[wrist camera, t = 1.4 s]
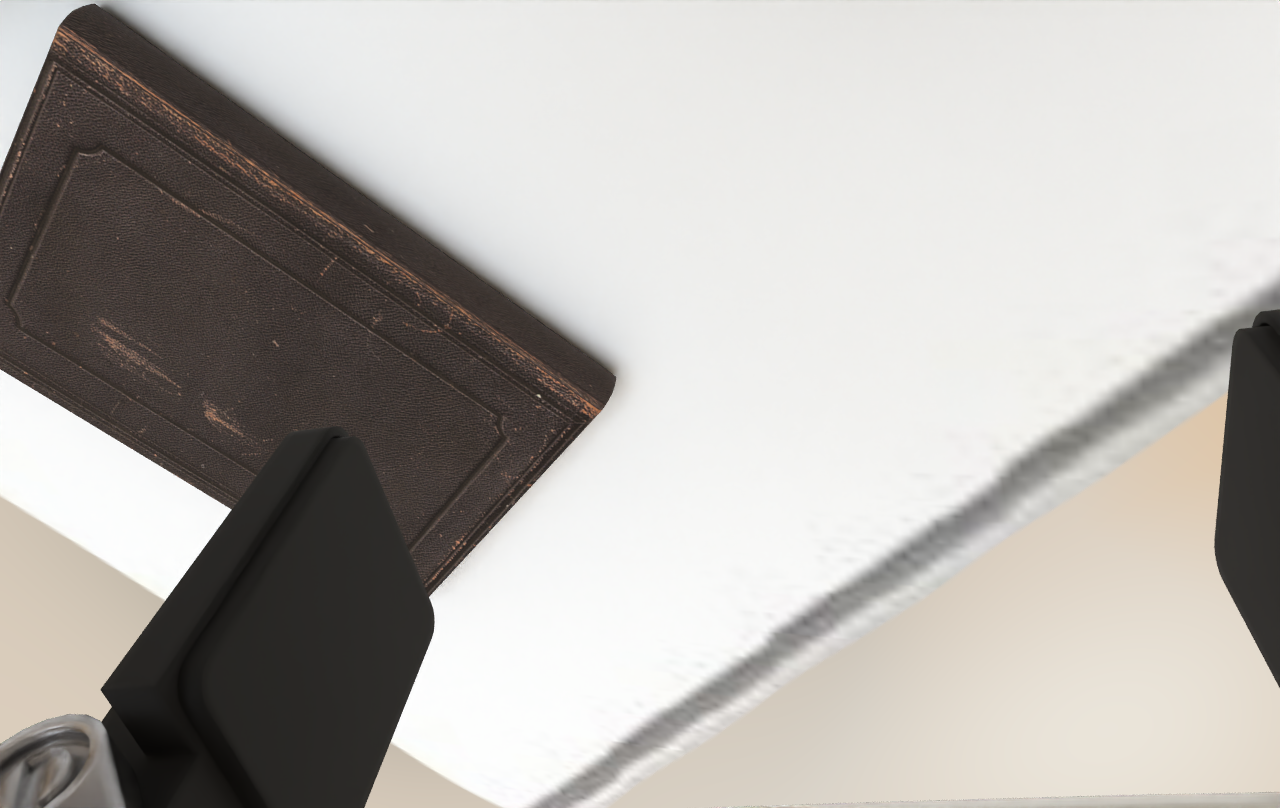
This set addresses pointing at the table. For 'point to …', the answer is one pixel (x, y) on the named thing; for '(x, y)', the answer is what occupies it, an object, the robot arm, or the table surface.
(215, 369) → the hardcover book
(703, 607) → the table surface
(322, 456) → the robot arm
